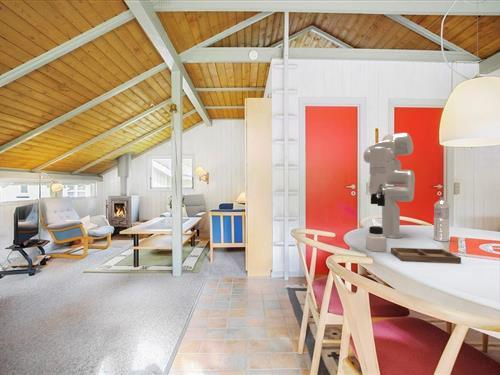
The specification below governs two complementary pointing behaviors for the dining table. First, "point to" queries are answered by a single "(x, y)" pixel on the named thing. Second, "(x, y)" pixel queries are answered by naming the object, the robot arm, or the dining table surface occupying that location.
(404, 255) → the tray
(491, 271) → the dining table surface
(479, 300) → the dining table surface
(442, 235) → the water bottle
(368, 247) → the medicine bottle
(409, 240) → the dining table surface
